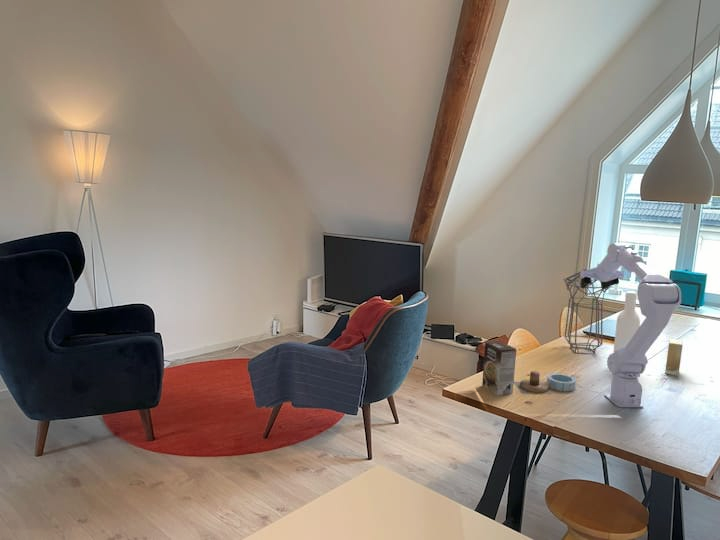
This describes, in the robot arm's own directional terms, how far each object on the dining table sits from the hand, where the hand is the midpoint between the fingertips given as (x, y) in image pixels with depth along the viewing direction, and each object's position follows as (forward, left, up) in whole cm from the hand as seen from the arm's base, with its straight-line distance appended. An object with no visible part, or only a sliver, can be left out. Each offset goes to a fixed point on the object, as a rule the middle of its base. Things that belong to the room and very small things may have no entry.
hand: (592, 286), depth 190 cm
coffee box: (-22, +39, -33) cm, 55 cm away
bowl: (-18, +16, -32) cm, 40 cm away
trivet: (-20, +26, -32) cm, 46 cm away
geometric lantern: (+24, -9, -32) cm, 41 cm away
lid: (-20, +26, -31) cm, 45 cm away
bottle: (+2, -16, -32) cm, 36 cm away
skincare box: (-1, -33, -32) cm, 46 cm away
